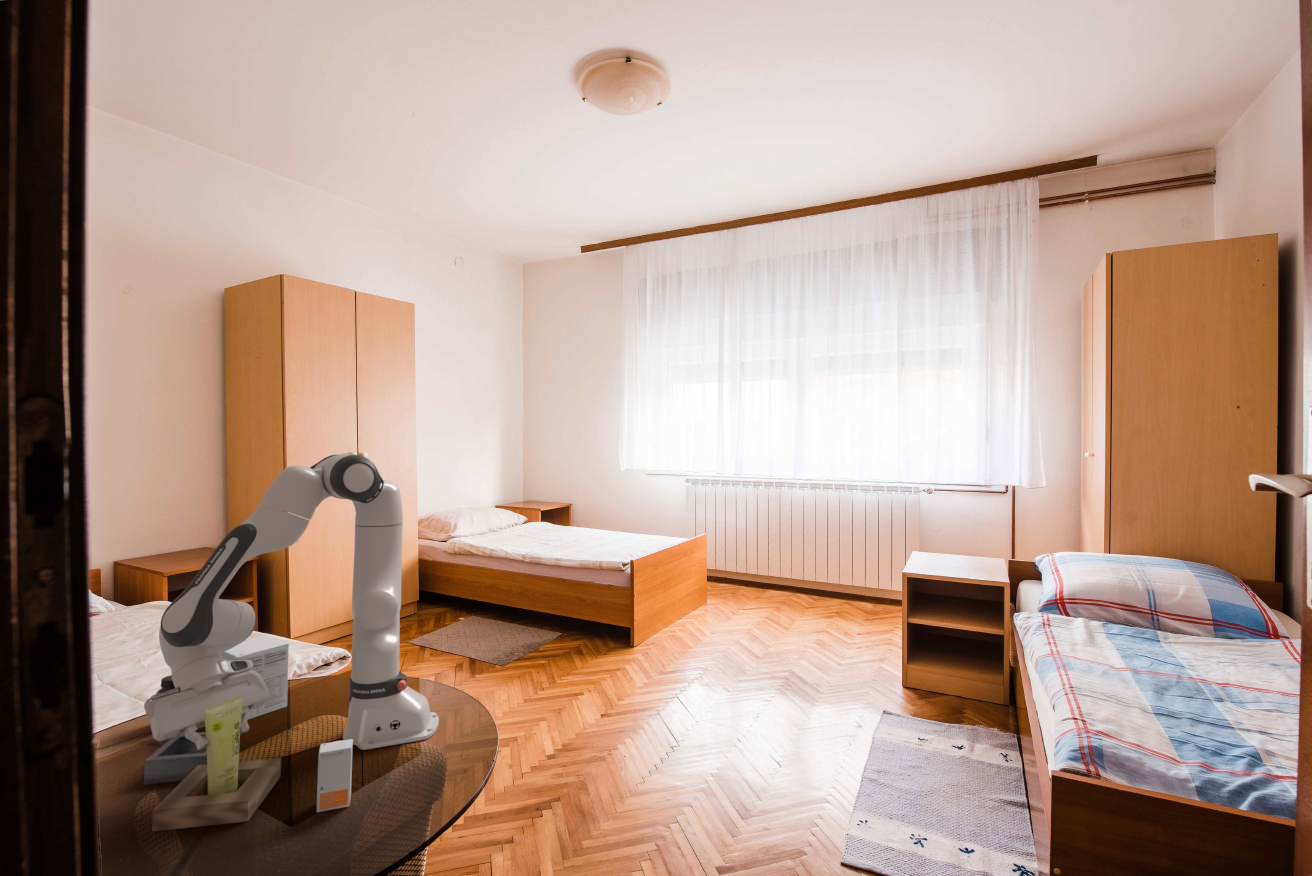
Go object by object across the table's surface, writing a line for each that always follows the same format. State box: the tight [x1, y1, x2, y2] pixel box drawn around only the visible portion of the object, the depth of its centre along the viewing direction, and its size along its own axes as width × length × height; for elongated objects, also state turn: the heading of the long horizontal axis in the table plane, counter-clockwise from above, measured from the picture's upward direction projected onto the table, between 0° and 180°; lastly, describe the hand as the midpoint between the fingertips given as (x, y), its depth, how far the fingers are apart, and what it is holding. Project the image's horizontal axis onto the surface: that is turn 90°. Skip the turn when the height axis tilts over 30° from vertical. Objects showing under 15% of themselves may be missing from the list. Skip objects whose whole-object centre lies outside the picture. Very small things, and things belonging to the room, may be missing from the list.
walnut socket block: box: [151, 757, 282, 832], centre depth 122 cm, size 16×16×4 cm
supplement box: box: [221, 635, 290, 720], centre depth 164 cm, size 13×13×18 cm
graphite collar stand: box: [143, 731, 207, 785], centre depth 135 cm, size 12×12×5 cm
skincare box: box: [316, 739, 354, 813], centre depth 122 cm, size 6×4×12 cm
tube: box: [203, 694, 244, 795], centre depth 122 cm, size 6×5×20 cm
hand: (224, 739), depth 122 cm, fingers closed on tube, 6 cm apart
